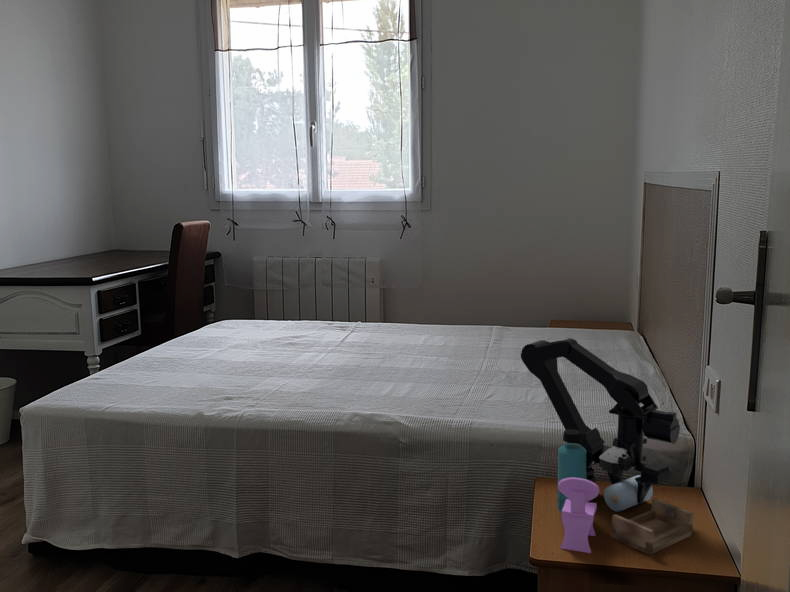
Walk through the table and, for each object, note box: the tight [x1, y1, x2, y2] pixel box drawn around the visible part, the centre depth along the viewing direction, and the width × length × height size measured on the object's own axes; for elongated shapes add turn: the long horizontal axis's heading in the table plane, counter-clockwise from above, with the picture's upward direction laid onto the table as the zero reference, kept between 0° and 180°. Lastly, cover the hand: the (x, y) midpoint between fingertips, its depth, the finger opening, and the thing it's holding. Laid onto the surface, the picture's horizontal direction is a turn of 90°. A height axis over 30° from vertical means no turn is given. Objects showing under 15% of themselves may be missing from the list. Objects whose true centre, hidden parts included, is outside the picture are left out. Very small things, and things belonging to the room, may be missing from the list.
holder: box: [611, 498, 694, 556], centre depth 160 cm, size 10×14×5 cm, turn 126°
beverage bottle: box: [557, 429, 587, 514], centre depth 169 cm, size 6×7×20 cm
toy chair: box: [557, 477, 600, 554], centre depth 158 cm, size 8×9×15 cm
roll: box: [603, 474, 654, 513], centre depth 175 cm, size 10×6×6 cm, turn 126°
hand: (628, 498), depth 176 cm, fingers closed on roll, 6 cm apart
